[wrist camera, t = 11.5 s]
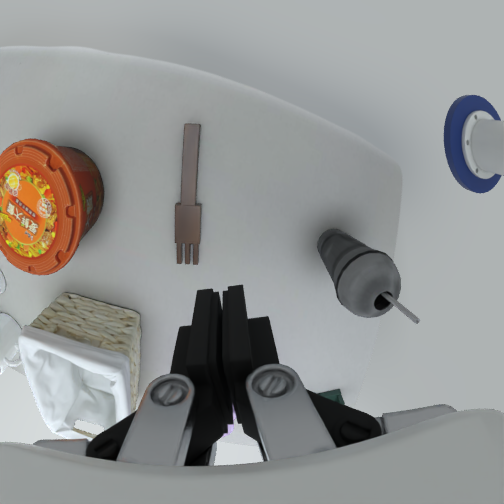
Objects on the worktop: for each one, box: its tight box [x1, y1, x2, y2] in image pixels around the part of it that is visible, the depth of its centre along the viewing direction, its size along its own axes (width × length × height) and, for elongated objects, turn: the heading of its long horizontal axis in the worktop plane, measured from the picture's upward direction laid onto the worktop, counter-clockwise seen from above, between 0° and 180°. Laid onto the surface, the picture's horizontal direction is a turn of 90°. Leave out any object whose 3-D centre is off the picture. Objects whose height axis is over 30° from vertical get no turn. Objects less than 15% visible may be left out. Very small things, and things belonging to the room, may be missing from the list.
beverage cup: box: [318, 229, 420, 324], centre depth 30 cm, size 7×7×20 cm
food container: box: [0, 139, 104, 275], centre depth 28 cm, size 16×16×11 cm
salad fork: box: [175, 124, 202, 265], centre depth 35 cm, size 3×18×1 cm, turn 175°
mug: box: [0, 313, 22, 374], centre depth 37 cm, size 8×12×10 cm, turn 78°
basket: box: [18, 293, 141, 441], centre depth 37 cm, size 24×16×15 cm
